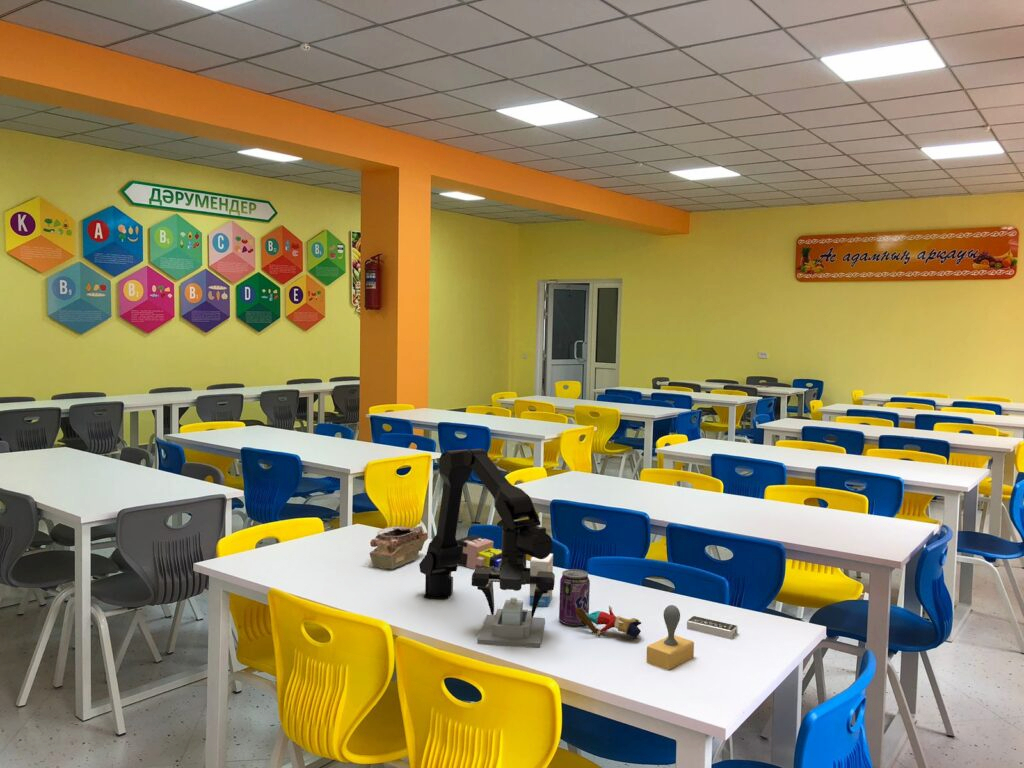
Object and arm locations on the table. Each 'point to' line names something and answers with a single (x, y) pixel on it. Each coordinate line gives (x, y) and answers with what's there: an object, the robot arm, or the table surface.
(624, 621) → the toy
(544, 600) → the ink box
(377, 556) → the decorative box
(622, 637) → the table surface
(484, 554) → the toy
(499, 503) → the robot arm
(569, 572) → the beverage can
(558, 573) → the table surface
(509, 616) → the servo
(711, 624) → the multiport hub
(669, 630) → the rubber stamp
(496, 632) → the grey socket base
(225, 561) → the table surface
